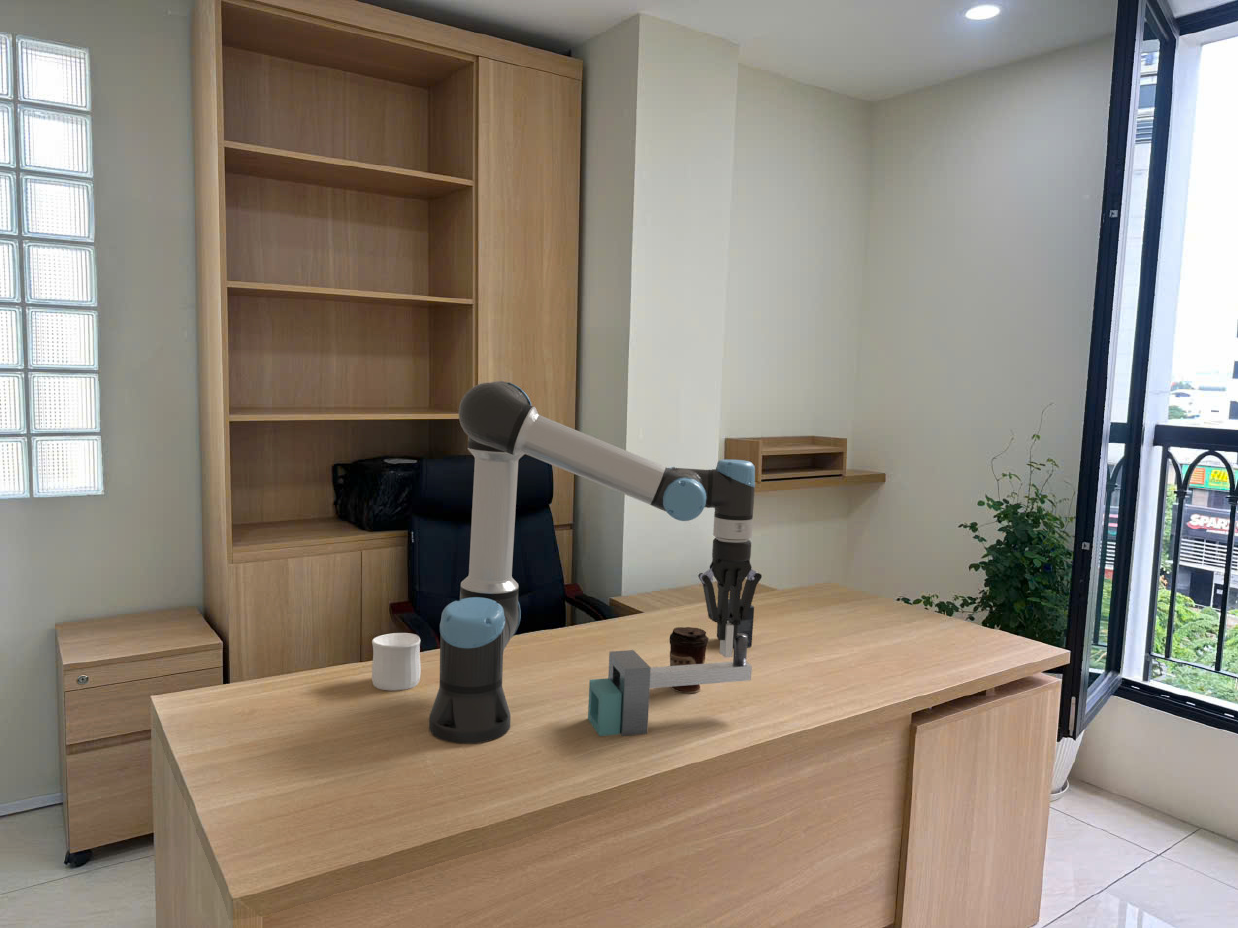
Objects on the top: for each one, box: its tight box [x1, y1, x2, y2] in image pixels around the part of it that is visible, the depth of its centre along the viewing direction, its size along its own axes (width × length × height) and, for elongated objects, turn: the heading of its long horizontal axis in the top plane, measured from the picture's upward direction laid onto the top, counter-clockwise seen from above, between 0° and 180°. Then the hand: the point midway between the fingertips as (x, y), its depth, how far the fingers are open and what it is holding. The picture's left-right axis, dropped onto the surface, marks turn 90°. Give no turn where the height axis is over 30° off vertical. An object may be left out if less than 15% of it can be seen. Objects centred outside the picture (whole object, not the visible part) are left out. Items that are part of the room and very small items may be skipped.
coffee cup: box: [668, 626, 709, 694], centre depth 185 cm, size 9×8×13 cm
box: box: [727, 598, 755, 648], centre depth 218 cm, size 8×6×11 cm
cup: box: [371, 632, 422, 692], centre depth 181 cm, size 10×10×10 cm
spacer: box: [587, 677, 622, 737], centre depth 164 cm, size 4×8×8 cm, turn 18°
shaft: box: [650, 633, 753, 689], centre depth 168 cm, size 26×3×9 cm, turn 108°
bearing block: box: [607, 649, 652, 737], centre depth 165 cm, size 5×10×13 cm, turn 18°
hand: (725, 655), depth 171 cm, fingers closed
